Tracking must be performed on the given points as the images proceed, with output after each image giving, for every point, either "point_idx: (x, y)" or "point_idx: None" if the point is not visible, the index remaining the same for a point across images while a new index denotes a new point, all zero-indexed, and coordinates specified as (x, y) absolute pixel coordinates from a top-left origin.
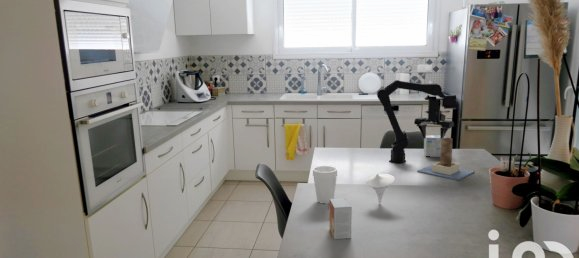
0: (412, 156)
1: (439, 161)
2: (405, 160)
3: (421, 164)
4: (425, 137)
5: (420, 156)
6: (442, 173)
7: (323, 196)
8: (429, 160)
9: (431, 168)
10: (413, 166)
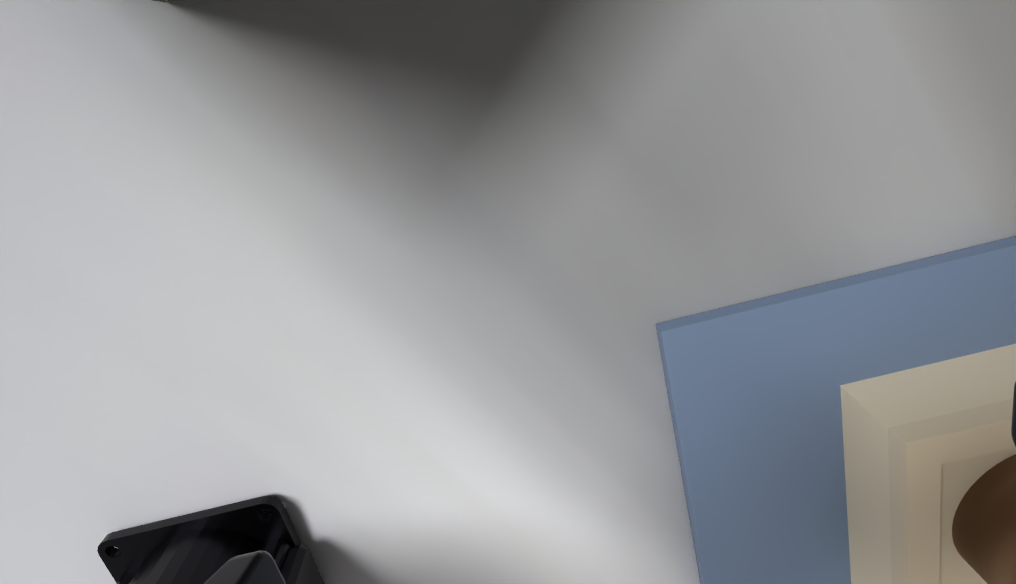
0: (23, 193)
1: (907, 496)
2: (266, 508)
3: (518, 431)
4: (264, 580)
5: (83, 64)
6: None
7: None
8: (412, 160)
9: (779, 513)
10: (526, 566)
